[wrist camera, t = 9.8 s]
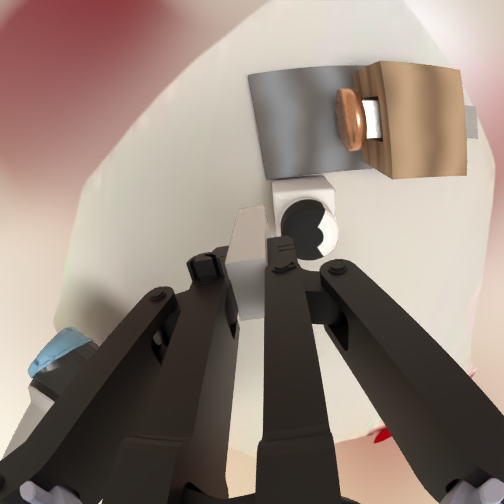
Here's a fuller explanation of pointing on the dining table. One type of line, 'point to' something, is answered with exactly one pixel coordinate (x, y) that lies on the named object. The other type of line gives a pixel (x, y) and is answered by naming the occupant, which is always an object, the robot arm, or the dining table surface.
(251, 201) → the dining table surface
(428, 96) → the bearing block
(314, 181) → the medicine bottle
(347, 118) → the shaft
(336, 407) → the dining table surface
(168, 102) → the dining table surface
